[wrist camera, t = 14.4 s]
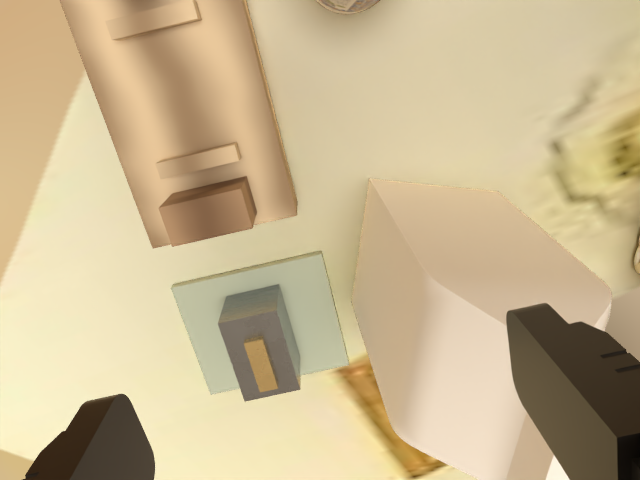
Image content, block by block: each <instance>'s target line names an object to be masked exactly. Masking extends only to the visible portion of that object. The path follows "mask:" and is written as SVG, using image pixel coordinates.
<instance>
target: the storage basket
mask: <svg viewBox="0 0 640 480" xmlns="http://www.w3.org/2000/svg"><path fill="white" fill-rule="evenodd" d="M634 266H635V270H636V271H637V273H639V274H640V237H639V246H638V248H637V251H636V254H635V258H634Z"/></svg>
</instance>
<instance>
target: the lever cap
mask: <svg viewBox="0 0 640 480" xmlns="http://www.w3.org/2000/svg"><path fill="white" fill-rule="evenodd" d="M218 326H219V329H220V332H221V335H222V338H223V341H224V343H225V346H226V349H227V352H228V355H229V358H230V361H231V363H232V366H233V369H234V372H235V375H236V378H237V381H238V383H239V386H240V389H241V392H242V395H243V398H244V400H245V401H249V400H254V399H259V398H263V397H268V396H272V395H277V394H282V393H286V392H291V391H296V390H300V354H299V350H298V347H297V343H296V340H295V336H294V333H293V330H292V326H291V323H290V319H289V316H288V312H287V309H286V305H285V302H284V299H283V295H282V292H281V288H280V285H279V284H277V285H273V286H268V287H264V288H260V289H255V290H251V291H246V292H242V293H238V294H233V295H229V296H226V299H225V302H224V305H223V308H222V311H221V314H220V318H219V321H218Z"/></svg>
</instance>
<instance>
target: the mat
mask: <svg viewBox="0 0 640 480" xmlns="http://www.w3.org/2000/svg"><path fill="white" fill-rule="evenodd" d="M277 284H279V285H280V288H281V292H282V295H283V299H284V302H285V305H286V309H287V312H288V316H289V319H290V323H291V326H292V330H293V333H294V336H295V340H296V343H297V347H298V350H299V354H300V375H305V374H309V373H314V372H318V371H323V370H328V369H332V368H337V367H342V366H346V365H349V362H348V357H347V353H346V349H345V345H344V341H343V337H342V333H341V329H340V325H339V321H338V317H337V313H336V309H335V304H334V300H333V296H332V292H331V288H330V284H329V280H328V276H327V272H326V268H325V264H324V260H323V256H322V252H321V251H318V252H314V253H309V254H305V255H301V256H296V257H292V258H287V259H283V260H279V261H274V262H270V263H265V264H261V265H257V266H252V267H248V268H243V269H239V270H234V271H230V272H226V273H221V274H217V275H212V276H208V277H204V278H199V279H195V280H190V281H186V282H181V283H177V284H173V286H172V287H171V289H172V292H173V295H174V297H175V300H176V303H177V305H178V308H179V311H180V313H181V316H182V319H183V322H184V324H185V327H186V330H187V332H188V335H189V338H190V340H191V343H192V346H193V348H194V351H195V354H196V356H197V359H198V362H199V364H200V367H201V370H202V372H203V375H204V378H205V380H206V383H207V386H208V389H209V391H210V394H211V395H212V394H216V393H221V392H226V391H230V390H235V389H239V388H240V386H239V383H238V381H237V378H236V375H235V372H234V369H233V366H232V363H231V361H230V358H229V355H228V352H227V349H226V346H225V343H224V341H223V338H222V335H221V332H220V329H219V326H218V321H219V318H220V314H221V311H222V308H223V305H224V302H225V299H226V296H229V295H233V294H238V293H242V292H246V291H251V290H255V289H260V288H264V287H268V286H273V285H277Z"/></svg>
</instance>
